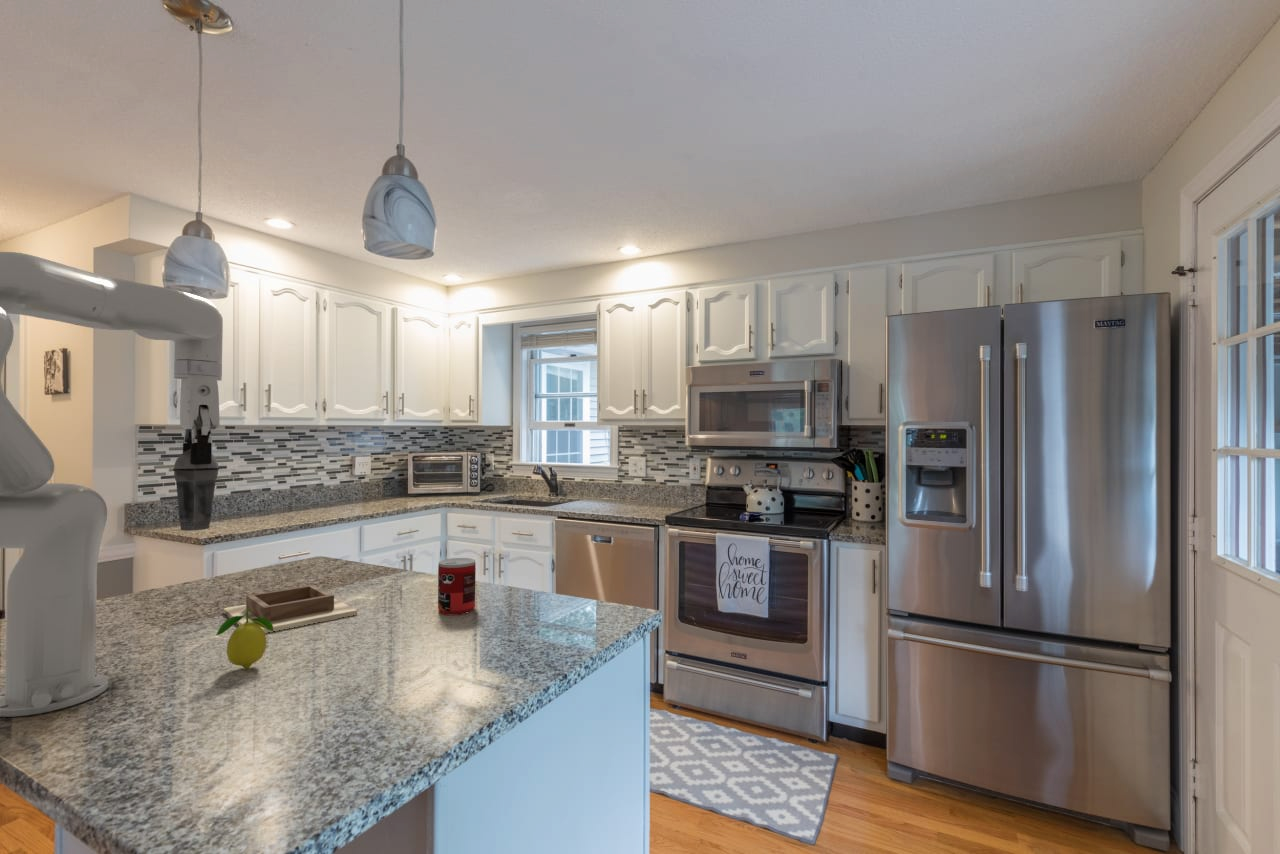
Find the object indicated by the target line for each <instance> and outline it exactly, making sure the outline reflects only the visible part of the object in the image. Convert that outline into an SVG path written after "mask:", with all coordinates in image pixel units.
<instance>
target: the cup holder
mask: <svg viewBox="0 0 1280 854" xmlns="http://www.w3.org/2000/svg"><path fill="white" fill-rule="evenodd" d="M245 596H246V602H245V604H240V605H235V606H229V607H223V611H222V613H223V614H224V615H225V614H226V615H227V616H226V615H225V616H226V617H228V619H229V618H231V617H234V616H244V615H245V614H246V613H247V608H248V609H249V610H248V617H249V618H251V619H254V618H266V619H267V620H269V621H270V622H271V624H272V625H273V630H274V631H275V632H279V630H280V631H285V630H290V629H294V627H295V628H298V627H299V626H300V627H304V625H305V626H309V625H308V624H310V625H314V624H313V623H315V624H318V622H320V623H324V622H327V621H328V622H329V621H334V620H338V618H339V619H343V618H342V617H344V618H349V617H354V616H357V615H358V610H357V608H354V607H352V606H349V605H348V604H346V603H345V602H342V601H341V600H338V599H336V598H335V595H334V594H332V593H330V592H328V591H326V590H324V589H323V588H320V587H318V586H317V585H315V584H309V585H303V586H297V587H290V588H284V589H279V590H272V591H266V592H260V593H253V594H248V595H245ZM246 615H247V614H246ZM246 615H245V616H244V617H243V618H242V619H240V620H239V621H238V622H237V624H238V625H239V626H241V625H243V624H244V623H245V622H246ZM353 615H354V616H353ZM348 616H349V617H348ZM249 618H248V621H249V622H251V623H254V622H253V621H252V620H251V619H249ZM237 624H236V625H237ZM238 625H237V626H238ZM239 626H238V627H239ZM300 627H299V628H300ZM261 628H262V627H261ZM289 628H290V629H289ZM262 629H263V631H264V633H265V634H269V633H268V632H270V633H274V632H273V631H270V630H267V629H264V628H262ZM284 629H285V630H284Z"/></svg>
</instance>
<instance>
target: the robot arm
mask: <svg viewBox="0 0 1280 854" xmlns="http://www.w3.org/2000/svg"><path fill="white" fill-rule="evenodd" d="M9 314H11V315H20V316H28V317H32V318H38V319H44V320H50V321H56V322H60V323H66V324H70V325H73V326H74V325H75V326H79V327H84V328H90V329H100V330H110V331H111V330H112V331H132V332H134V333H135V334H137V336H140V337H143V338H145V339H148V340H151V341H152V340H154V341H172V342H173V343H174V356H173V357H174V358H173V359H174V360H173V361H174V364H173V366H174V367H173V368H174V369H173V378H174V379H178V380H180V388H179V389H180V390H179V391H180V395H179V399H180V400H179V424H180V427H181V428H182V429H183V431H184V433H183V443H182V453H183V452H185V451H187V450H190V449H191V454H190V463H191V464H193V465H196V464H211V455H212V454H213V453H212V450H213V449H212V448H213V447H212V446H213V445H212V432H211V430H217V429H219V427H220V426H221V425H220V422H221V421H220V419H221V418H220V397H219V396H220V395H219V384H218V382H220V381H222V380H223V379H222V378H223V337H224V336H223V333H224V329H223V328H224V325H223V324H224V320H223V316H222V314H221V312H220V311H219V309H218V308H217V307H216V305H215V304H214V303H212V302H211V301H210V300H209V299H206V298H204V297H202V296H198V295H196V294H192V293H189V292H186V291H182V290H177V289H173V288H168V287H164V286H158V285H153V284H146V283H142V282H137V281H132V280H128V279H123V278H116V277H112V276H106V275H102V274H98V273H94V272H91V271H87V270H83V269H80V268H76V267H73V266H69V265H66V264H63V263H59V262H56V261H52V260H49V259H46V258H43V257H39V256H37V255H36V256H35V255H33V254H27V253H22V252H16V251H15V252H14V251H0V549H23V552H22V554H21V556H20V557H19V559H18V561H17V562H16V564H15V565H14V567H13V569H12V570H11V572H10V574H9V577H8V581H7V587H6V588H7V589H6V624H5V626H6V628H5V629H6V630H5V631H6V633H5V636H6V637H5V640H6V641H5V669H4V670H5V676H4V681H5V682H4V683H5V684H4V692H2V693H1V694H0V717H5V718H6V717H7V718H10V717H13V718H15V717H24V716H25V717H26V716H31V715H32V716H33V715H38V714H43V713H49V712H54V711H57V710H61V709H65V708H69V707H72V706H75V705H78V704H81V703H83V702H86V701H88V700H91V699H94V698H95V697H97V696H99V695H101V694H102V693H103V692H105V691H106V690H107V689H108V686H109V678H108V677H107V676H106V675H104V674H100V673H99V674H98V673H96V644H97V641H96V640H97V639H96V638H97V635H96V634H97V594H98V593H97V591H98V589H97V588H98V586H97V585H98V562H99V553H100V546H101V543H102V539H103V535H104V531H105V528H106V524H107V521H108V507H107V503H106V501H105V500H104V498H103V497H102V495H101V494H99V493H98V492H97V491H96V490H94V489H92V488H90V487H86V486H83V485H79V484H73V483H64V482H63V483H60V482H59V483H58V482H57V483H53V482H52V483H50V482H49V481H50V480H51V478H52V477H53V475H54V472H55V468H56V467H55V461H54V459H53V456H52V453H51V452H50V450H49V449H48V448H47V447H46V444H44V442H43V441H42V440H41V438H39V436H38V434H36V432H35V431H34V430H33V429H32V427H31V426H30V425H29V424H28V422H27V421H26V420H25V419H24V418H23V416H22V415H21V414H20V413H19V412H18V411H17V409H16V407H14V405H13V404H12V403H11V401H10V400H9V398H8V396H7V395H6V393H5V392H4V390H3V385H2V372H3V368H4V365H5V361H6V359H7V356H8V354H9V352H10V350H11V346H12V345H13V341H14V335H15V334H14V324H13V322H12V320H11V317H10V315H9ZM191 429H192V436H191ZM192 438H193V443H192ZM48 482H49V483H48Z"/></svg>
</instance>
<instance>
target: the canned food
mask: <svg viewBox="0 0 1280 854" xmlns="http://www.w3.org/2000/svg"><path fill="white" fill-rule="evenodd" d="M476 570H477V569H476V559H473V558H469V557H453V558H452V557H451V558H445V559H443V560H442V559H441V560H439V561H438V570H437V573H438V575H437V577H438V578H437V579H438V580H437V581H438V582H437V609H438V612H439V613H440V614H442V615H446V614H459V615H463V614H462V613H465V614H467V613H466V612H469V613H471V612H473V611H474V609H475V608H476V607H475V606H476V573H477V572H476ZM472 610H473V611H472ZM470 611H471V612H470Z"/></svg>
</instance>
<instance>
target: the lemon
mask: <svg viewBox="0 0 1280 854" xmlns="http://www.w3.org/2000/svg"><path fill="white" fill-rule="evenodd" d="M248 610H249V609H248V608H247V613H246V614H247V615H246V614H245V615H246V622H245V623H244V624H243V625H241V626H238V627H236V628H235V629H234V630H233V631H232V633H231V635H230V636H229V639H228V641H227V645H226V655H227V658H228V660H229V662H230V663H231V664H232V665H235V666H237V667H239V666H240V667H243V668H244V669H245V670H246V669H249V668H250V667H251V666H252V665H253V664H254V663H256V662H258V661H259V660H261V659H262V657H263V655H265V651H266V649H267V648H266V647H267V637H266V633H264V631H263V629H262V628H264V629H267V630H270V631H274V630H273V625H272V624H271V622H270V621H269V620H267V619H266V618H254V619H251V618H249V617H248ZM245 615H244V616H245ZM244 616H234V617H231V618H229V617H228V618H227V619H226V620H225V621H224V622H223V623H222V624H221V625H220V628H219V629H218V630H217V633H216V636H219V635H220V636H221V635H222V634H223V633H225V632H226V631H227V630H229V629H230V628H232V627H233V626H234V625H237V624H236V623H237V622H238V621H239V620H240V619H242V618H243V617H244ZM248 618H249V619H251V620H252V621H253V622H254V623H251V622H249V621H248ZM261 627H262V628H261Z"/></svg>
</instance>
